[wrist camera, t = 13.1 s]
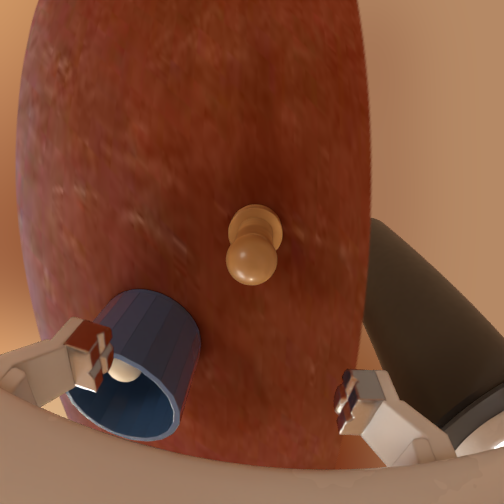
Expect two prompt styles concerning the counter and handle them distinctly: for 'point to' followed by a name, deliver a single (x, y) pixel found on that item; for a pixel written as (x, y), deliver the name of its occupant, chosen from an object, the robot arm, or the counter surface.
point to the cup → (144, 367)
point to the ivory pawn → (123, 371)
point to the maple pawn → (253, 244)
